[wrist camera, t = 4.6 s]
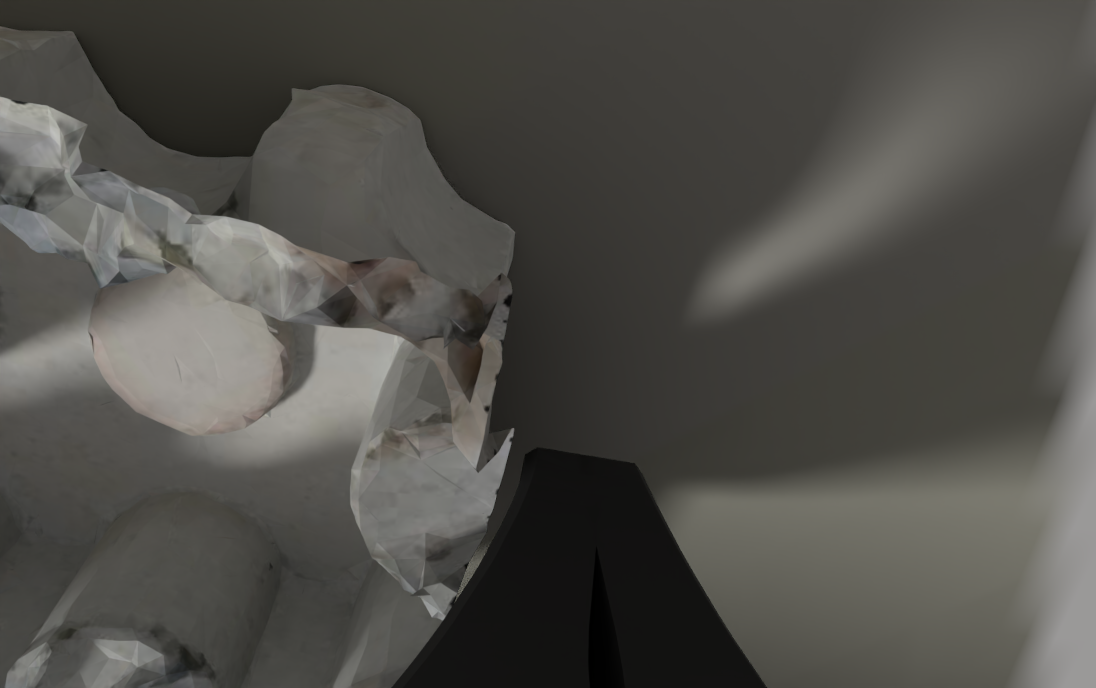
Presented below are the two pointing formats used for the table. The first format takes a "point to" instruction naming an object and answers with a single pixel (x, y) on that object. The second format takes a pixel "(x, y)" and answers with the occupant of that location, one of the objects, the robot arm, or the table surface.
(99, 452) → the egg carton
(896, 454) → the table surface
